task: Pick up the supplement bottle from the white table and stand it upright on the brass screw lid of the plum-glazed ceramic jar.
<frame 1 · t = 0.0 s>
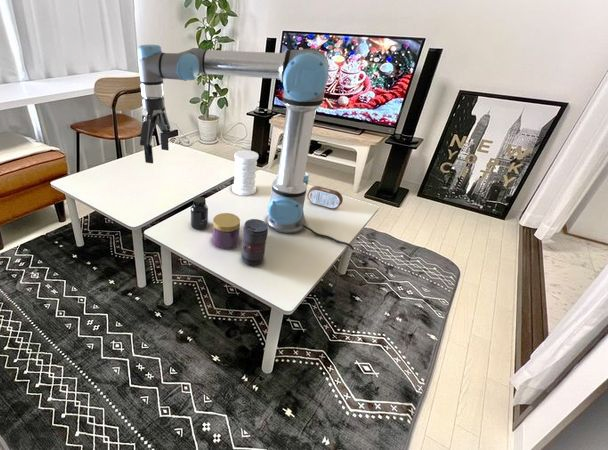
hand: (157, 156, 127), 28 cm above the table, tool pointing down, fingers open, 13 cm apart
tin: (322, 206, 153), on the table
decorative container: (244, 190, 165), on the table
jar lid: (226, 221, 124), point 9 cm above the table, screwed on, not yet turned
supplement bottle: (199, 226, 138), on the table
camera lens: (252, 260, 120), on the table
jar: (225, 241, 129), on the table
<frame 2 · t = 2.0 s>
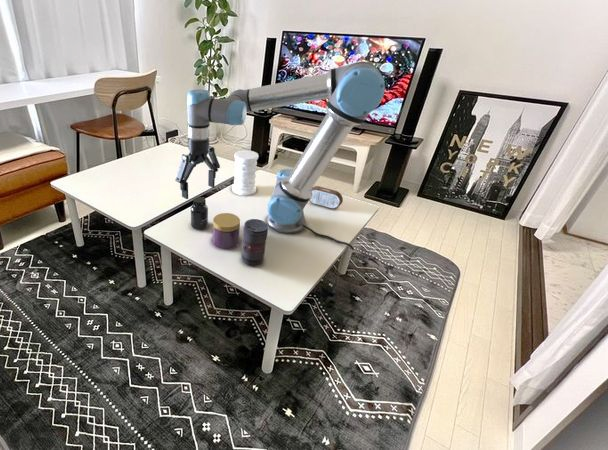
hand: (198, 191, 130), 15 cm above the table, tool pointing down, fingers open, 13 cm apart
nothing on the table moved.
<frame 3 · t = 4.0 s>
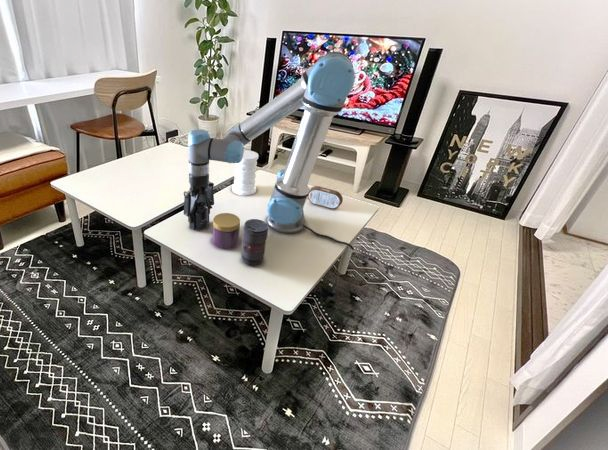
hand: (199, 224, 138), 0 cm above the table, tool pointing down, fingers closed on supplement bottle, 7 cm apart
supplement bottle: (199, 226, 138), on the table, touching gripper
everything else where it was.
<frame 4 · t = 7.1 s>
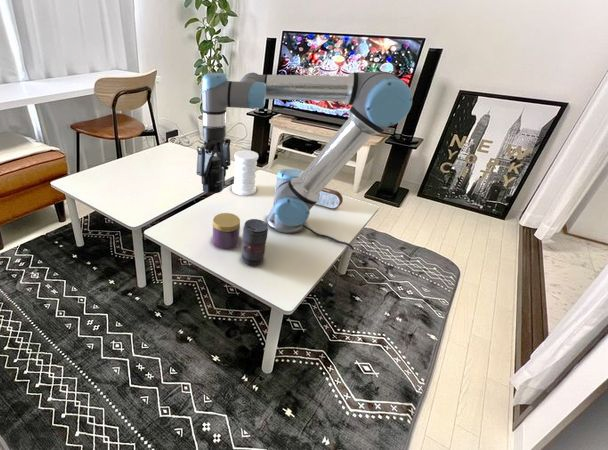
hand: (213, 188, 123), 20 cm above the table, tool pointing down, fingers closed on supplement bottle, 7 cm apart
supplement bottle: (213, 190, 123), point 19 cm above the table, touching gripper
everything else where it was.
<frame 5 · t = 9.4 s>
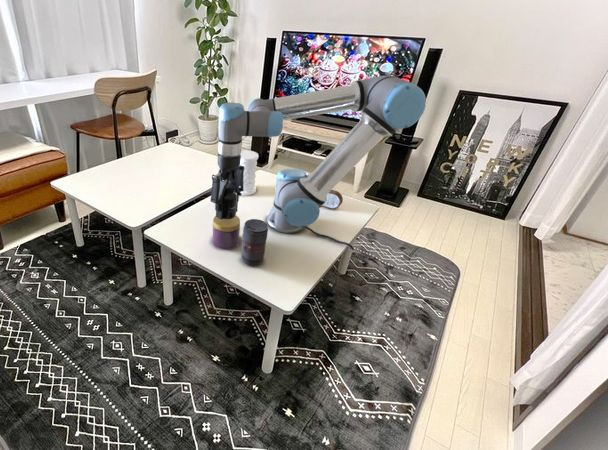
hand: (226, 214, 123), 12 cm above the table, tool pointing down, fingers closed on supplement bottle, 7 cm apart
supplement bottle: (226, 215, 123), point 12 cm above the table, touching gripper
everything else where it was.
when the fingers open (10 cm above the table, at t = 10.4 s): supplement bottle stays where it is, resting on jar lid.
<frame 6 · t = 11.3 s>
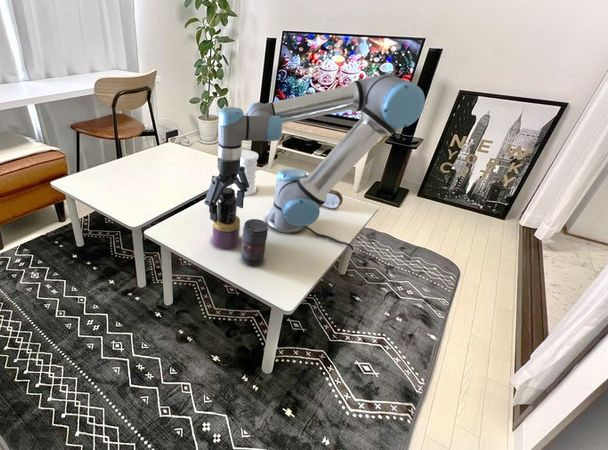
hand: (227, 213, 122), 12 cm above the table, tool pointing down, fingers open, 13 cm apart
jar lid: (226, 221, 124), point 9 cm above the table, screwed on, not yet turned, touching supplement bottle
supplement bottle: (226, 220, 124), point 9 cm above the table, touching jar lid
everything else where it was.
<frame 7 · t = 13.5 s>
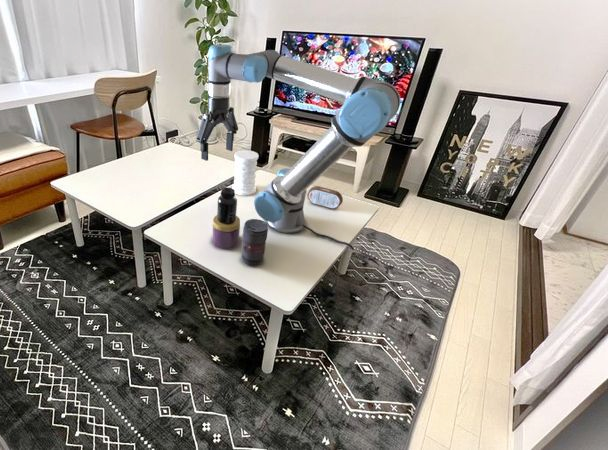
hand: (217, 154, 128), 28 cm above the table, tool pointing down, fingers open, 13 cm apart
nothing on the table moved.
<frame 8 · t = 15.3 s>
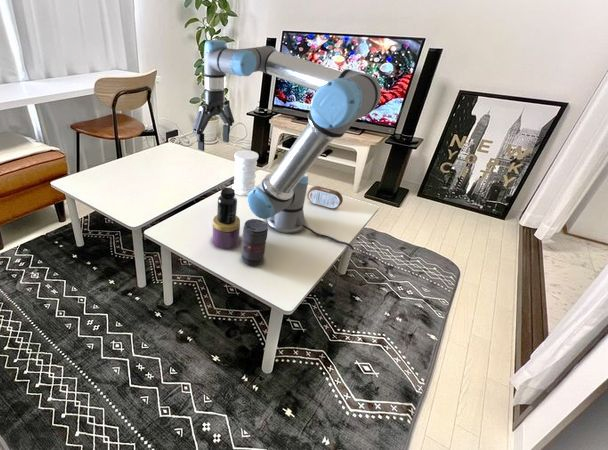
hand: (213, 145, 134), 29 cm above the table, tool pointing down, fingers open, 13 cm apart
nothing on the table moved.
at the end: supplement bottle 0.0 cm off-centre on the jar, point 9.5 cm above the jar's base; supplement bottle tilted 0°; the gripper is holding nothing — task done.
